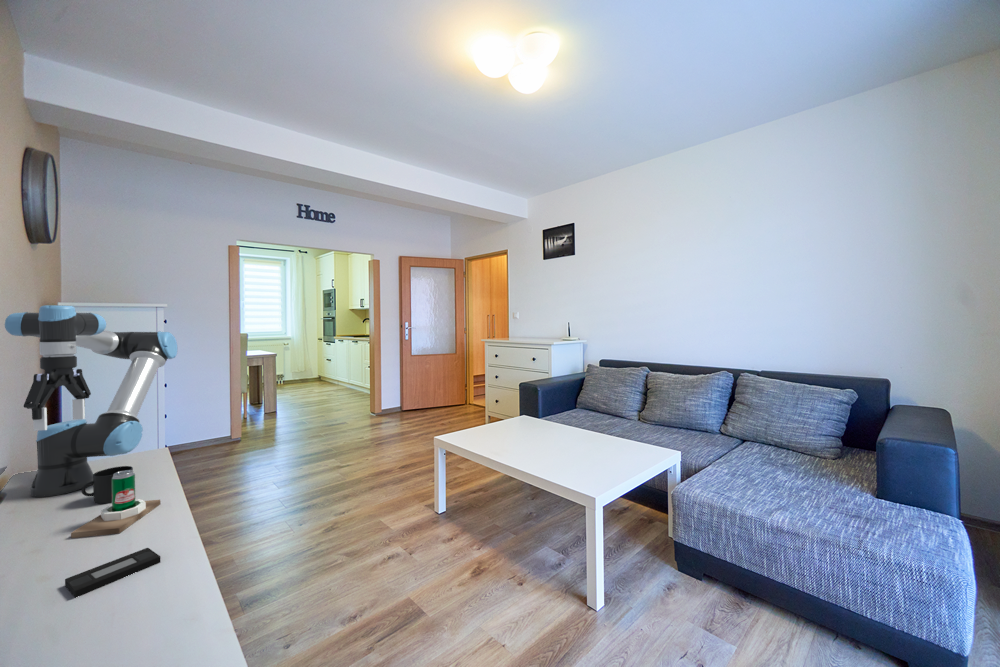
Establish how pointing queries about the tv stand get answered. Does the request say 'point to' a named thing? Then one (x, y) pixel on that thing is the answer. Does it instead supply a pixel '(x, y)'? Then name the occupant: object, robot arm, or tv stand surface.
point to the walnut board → (111, 523)
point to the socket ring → (109, 515)
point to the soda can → (123, 490)
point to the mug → (103, 484)
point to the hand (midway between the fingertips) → (60, 424)
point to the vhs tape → (111, 572)
